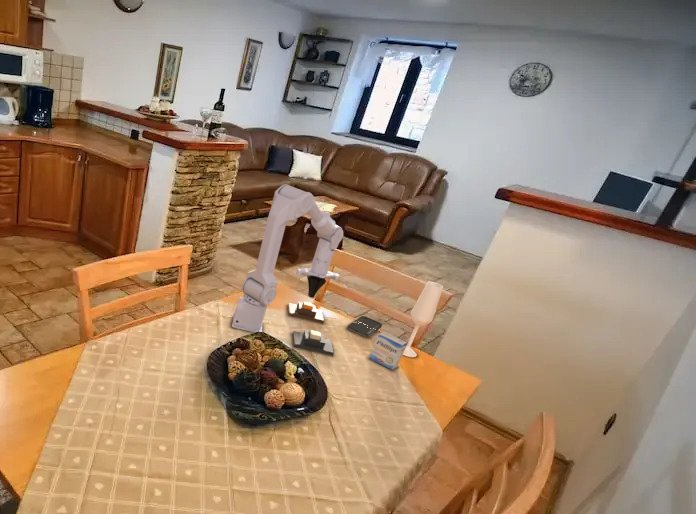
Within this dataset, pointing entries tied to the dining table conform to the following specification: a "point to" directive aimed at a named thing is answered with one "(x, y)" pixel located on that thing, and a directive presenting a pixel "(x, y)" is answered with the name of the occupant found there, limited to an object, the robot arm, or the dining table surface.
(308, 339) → the grey stepped holder
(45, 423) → the dining table surface
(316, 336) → the key
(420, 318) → the champagne flute
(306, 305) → the key back
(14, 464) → the dining table surface
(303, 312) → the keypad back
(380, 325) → the phone
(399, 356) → the medicine box
